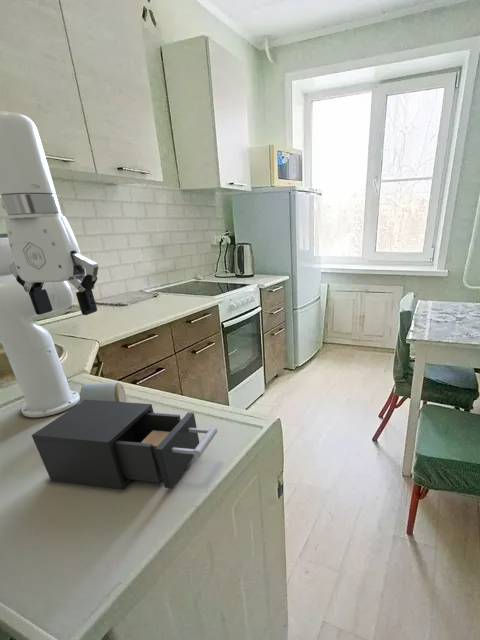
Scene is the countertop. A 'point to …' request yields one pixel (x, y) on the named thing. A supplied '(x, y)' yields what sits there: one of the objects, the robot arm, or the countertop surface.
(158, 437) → the block
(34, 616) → the countertop surface
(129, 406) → the box
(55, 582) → the countertop surface
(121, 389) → the ceramic mug
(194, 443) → the basket
